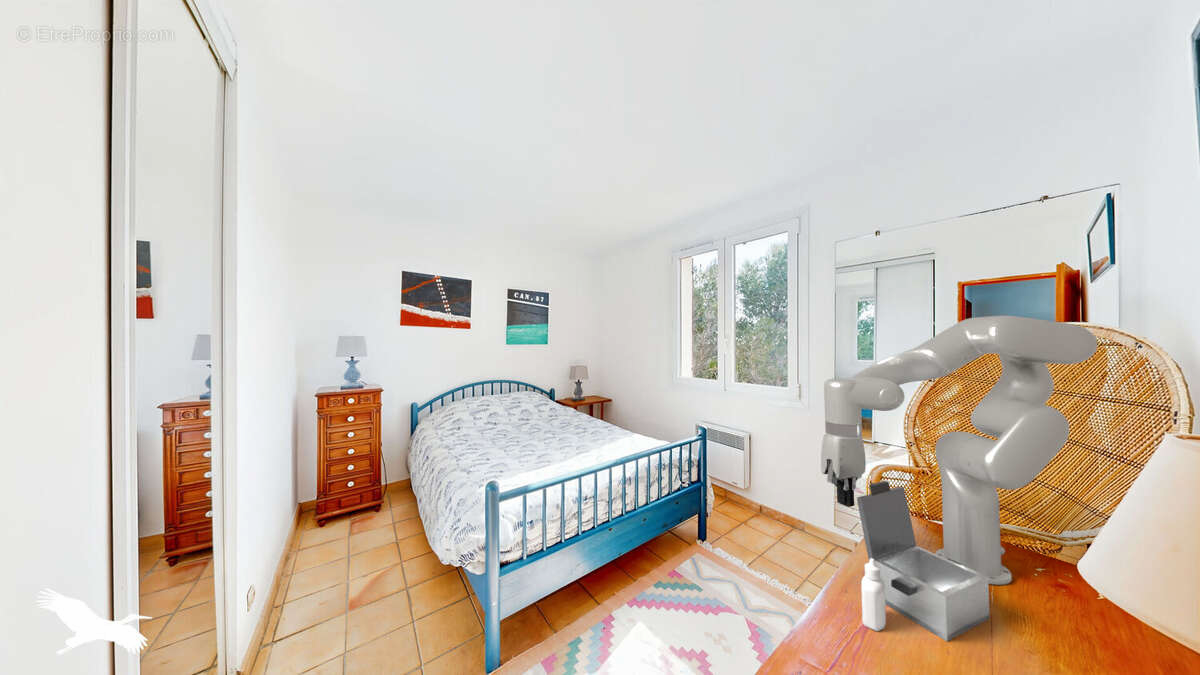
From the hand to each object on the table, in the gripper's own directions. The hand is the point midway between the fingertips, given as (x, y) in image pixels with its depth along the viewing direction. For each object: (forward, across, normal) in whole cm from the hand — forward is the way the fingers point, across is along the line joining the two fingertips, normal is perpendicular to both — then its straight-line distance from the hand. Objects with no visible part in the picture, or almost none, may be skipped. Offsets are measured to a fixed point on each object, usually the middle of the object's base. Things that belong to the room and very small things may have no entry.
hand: (845, 504), depth 90 cm
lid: (-1, 0, +10) cm, 10 cm away
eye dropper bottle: (+14, +14, +15) cm, 25 cm away
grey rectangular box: (+14, 0, +17) cm, 22 cm away
